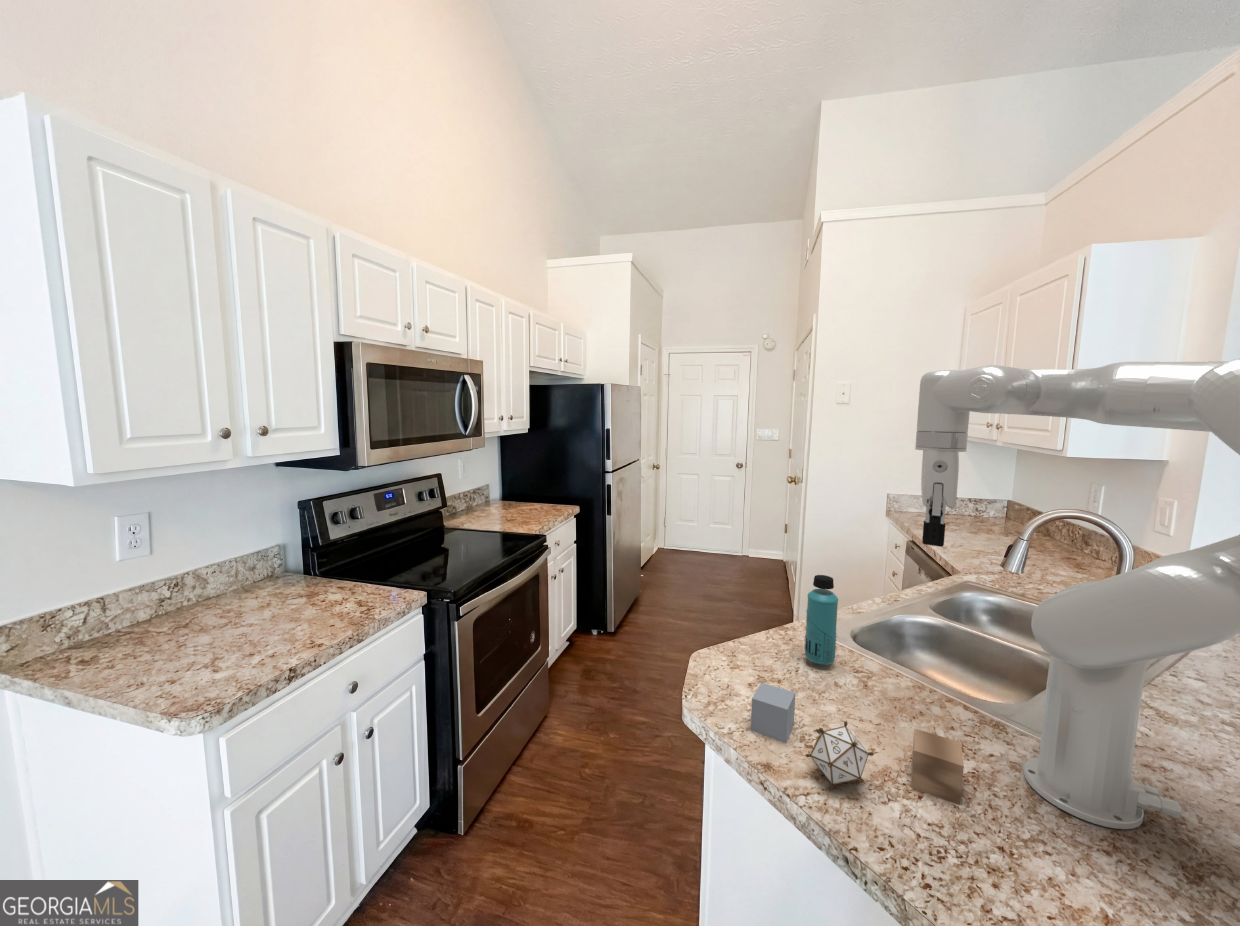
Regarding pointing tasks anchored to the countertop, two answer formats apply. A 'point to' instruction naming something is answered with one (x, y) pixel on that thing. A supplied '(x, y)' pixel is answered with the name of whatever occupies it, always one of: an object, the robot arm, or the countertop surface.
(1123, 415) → the robot arm
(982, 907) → the countertop surface
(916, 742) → the walnut block
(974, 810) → the countertop surface
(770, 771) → the countertop surface
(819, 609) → the beverage bottle
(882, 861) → the countertop surface
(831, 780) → the game die
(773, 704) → the slate block
